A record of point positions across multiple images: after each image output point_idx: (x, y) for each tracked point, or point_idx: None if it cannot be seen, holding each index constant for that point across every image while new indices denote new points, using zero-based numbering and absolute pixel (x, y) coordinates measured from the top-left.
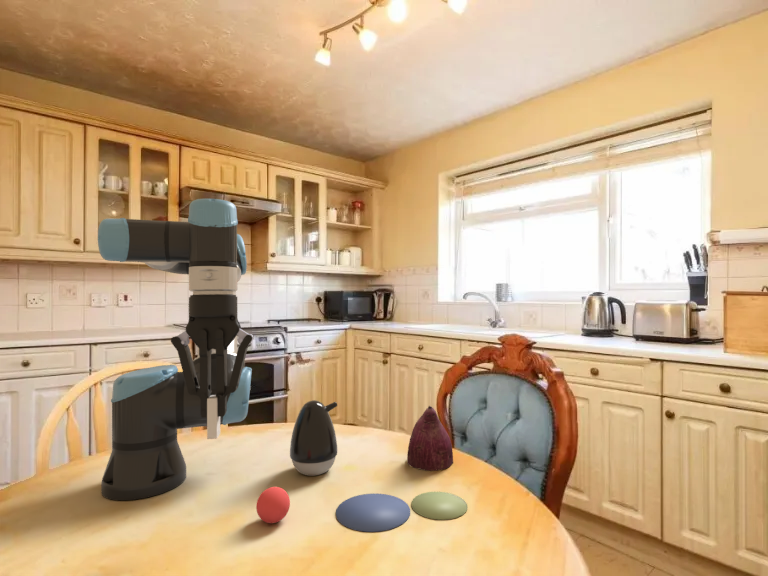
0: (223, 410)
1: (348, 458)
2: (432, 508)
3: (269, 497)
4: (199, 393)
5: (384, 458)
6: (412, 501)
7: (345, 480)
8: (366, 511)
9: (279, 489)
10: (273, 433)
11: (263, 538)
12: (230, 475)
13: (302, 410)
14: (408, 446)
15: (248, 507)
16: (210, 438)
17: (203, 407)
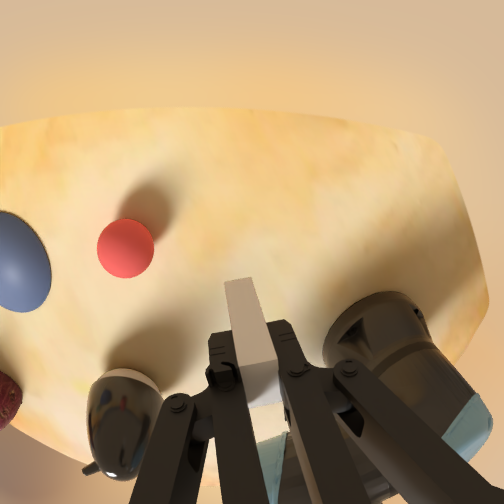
0: (214, 347)
1: None
2: None
3: (120, 238)
4: (317, 376)
5: (51, 404)
6: None
7: (72, 354)
8: (12, 263)
9: (108, 259)
10: None
11: (129, 188)
12: None
13: (132, 461)
14: (13, 406)
15: (188, 279)
16: (242, 279)
17: (287, 341)
